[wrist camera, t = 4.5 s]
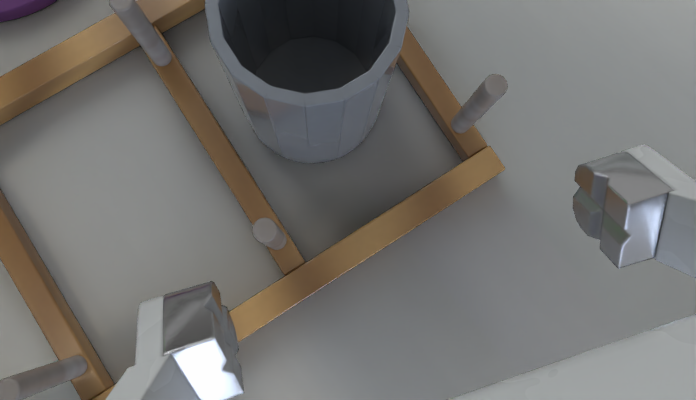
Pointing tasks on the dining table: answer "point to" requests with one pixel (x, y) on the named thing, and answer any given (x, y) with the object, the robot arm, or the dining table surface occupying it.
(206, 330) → the robot arm
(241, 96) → the tumbler
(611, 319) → the dining table surface
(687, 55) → the dining table surface
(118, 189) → the dining table surface
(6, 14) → the lid
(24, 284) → the drying rack
